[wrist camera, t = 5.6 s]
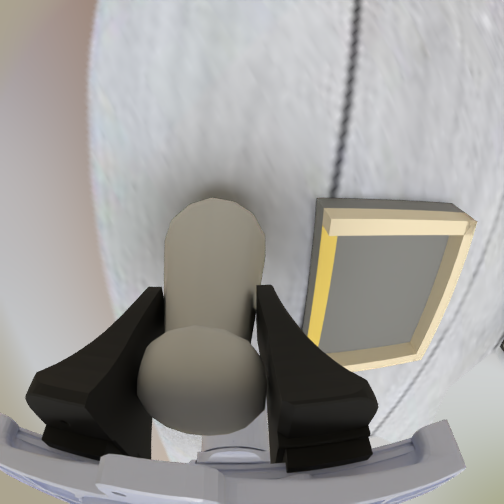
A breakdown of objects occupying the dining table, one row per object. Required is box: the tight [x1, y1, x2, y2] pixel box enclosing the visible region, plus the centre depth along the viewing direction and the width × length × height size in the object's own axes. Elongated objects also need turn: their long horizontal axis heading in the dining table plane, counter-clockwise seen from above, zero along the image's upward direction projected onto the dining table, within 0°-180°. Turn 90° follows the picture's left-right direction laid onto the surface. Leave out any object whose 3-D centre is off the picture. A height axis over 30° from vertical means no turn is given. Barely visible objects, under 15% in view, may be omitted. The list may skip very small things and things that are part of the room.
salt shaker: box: [137, 197, 267, 436], centre depth 14 cm, size 6×6×13 cm
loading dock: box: [302, 198, 477, 372], centre depth 24 cm, size 16×13×4 cm
